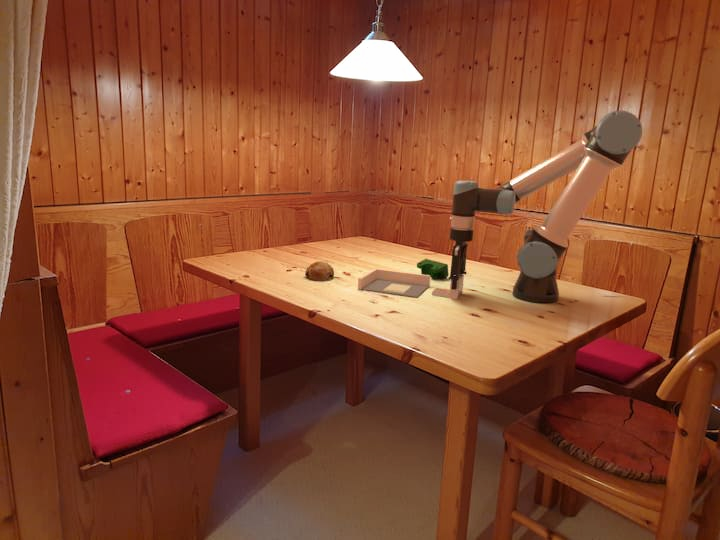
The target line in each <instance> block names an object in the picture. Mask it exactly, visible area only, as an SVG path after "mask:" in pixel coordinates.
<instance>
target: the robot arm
mask: <svg viewBox="0 0 720 540" xmlns="http://www.w3.org/2000/svg"><path fill="white" fill-rule="evenodd" d="M642 136H643V125H642V123H641V121H640V119H639V118H638V117H637V115H635V114H633V113H632V112H631V111H630V112H629V111H627V110H614V111H612V112H608V113H607V114H606V115H604V116H603V117H602V118H601V119H600V120H599V122H598V123H597V125H595V126H594V127H593V128H591V129H590V130H589V131H587V132H585V133H584V134H582V136H581V139H579V140H577V141H576V142H574V143H572V144H571V145H569V146H567V147H566V148H564V149H562V150H561V151H558V152H557V153H555V154H553V155H552V156H550V157H548V158H545V160H543V161H541V162H539V163H538V164H536V165H534V166H532V167H531V168H529V169H528V170H526V171H524V172H522V173H520V174H519V175H517V176H515V177H513V178H512V179H510V180H509V181H507V182H505V183H503V184H501V185H500V186H497V187H496V188H482V187H479V184H478V182H477V181H473V180H456V181H455V183H454V186H453V187H454V188H453V194H452V208H451V216H450V217H449V220H450V227H451V228H450V230H449V239H450V240H451V241H454V242H455V245H453V248H452V253H451V255H452V257H451V263H450V265H451V266H450V273H449V276H448V280H450V284H449V285H450V286H449V290H450V295H449V299H453V300H454V299H455V300H459V299H458V291H459V275H463V280H464V279H465V278H464V277H465V275H467V271H466V270H467V269H466V266H467V252H468V251H467V250H468V243H469V242H472V241H473V238H474V230H473V229H474V228H475V222H476V221H475V220H476V212H478V213H479V212H482V213H488V214H489V213H490V214H499V215H512V214H514V211H515V210H514V209H515V206H516V204H517V203H518V202H520V201H521V200H523V199H525V198H527V197H528V196H530V195H532V194H534V193H536V192H538V191H539V190H541V189H543V188H546V187H547V186H549V185H551V184H552V183H554V182H556V181H558V180H559V179H561V178H564V177H566V176H567V175H569V174H571V173H573V172H574V173H573V175H572V176H571V178H570V179H569V181H568V183H567V184H566V186H565V187H564V189H563V190H562V192H561V193H560V195H559V197H558V198H557V200H556V202H555V203H554V204H553V206H552V208H551V210H550V211H549V213H548V214H547V216H546V217H545V219H544V221H543V222H542V224H541V225H538V226H534V227H533V229H527V230H526V231H524V236H523V245H522V246H521V247H520V249H519V250H518V252H517V255H516V258H517V259H516V260H517V265H518V267H519V269H520V273H519V275H518V276H517V279H516V282H515V283H514V285H513V287H512V296H513V297H515V298H516V297H517V298H516V299H519V300H522V301H526V300H527V302H531V301H533V302H532V303H538V302H546V303H545V304H548V303H547V302H552V303H555V301H556V302H558V301H559V296H560V292H559V287H558V282H557V269H558V265H559V261H560V260H561V258H562V257H563V255H564V254H565V252H566V251H567V249H568V247H569V244H568V238H569V237H570V235H571V234H572V232H573V230H574V229H575V227H576V226H577V225H578V223H579V221H580V219H581V218H582V216H584V214H585V212H586V211H587V209H588V207H589V206H590V204H591V203H592V202H593V200H594V199H595V197H596V195H598V193H599V191H600V189H601V188H602V186H603V184H604V183H605V181H606V180H607V178H608V177H609V176H610V174H611V172H612V171H613V170H614V169H617V168H620V167H622V165H623V164H624V162H625V161H626V159H627V157H628V156H629V155H630V154H631V152H632V150H633V149H635V148H636V146H638V145H639V143H640V141H641V138H642ZM463 288H464V284H463V285H462V291H463ZM557 300H558V301H557Z"/></svg>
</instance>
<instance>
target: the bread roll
mask: <svg viewBox="0 0 720 540" xmlns="http://www.w3.org/2000/svg"><path fill="white" fill-rule="evenodd" d="M304 274H305V277H306V278H307V279H309V280H311V281H318V282H325V280H327V281H332V279H333V278H334V277H335V276H334V275H335V270H334V268H333V266H331V264H330V263H328V262H327V261H326V262H324V261H316V262H313V263H311V264H310V265H309V266H307V267H306V270H304Z"/></svg>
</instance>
